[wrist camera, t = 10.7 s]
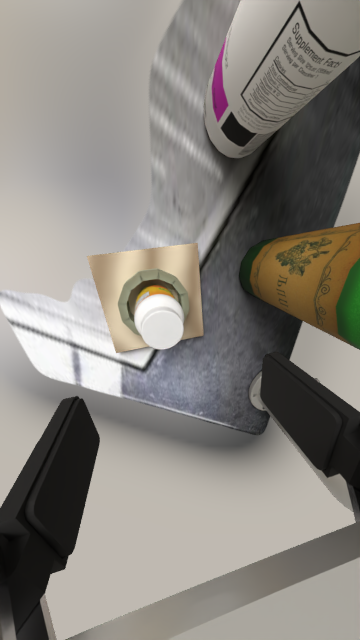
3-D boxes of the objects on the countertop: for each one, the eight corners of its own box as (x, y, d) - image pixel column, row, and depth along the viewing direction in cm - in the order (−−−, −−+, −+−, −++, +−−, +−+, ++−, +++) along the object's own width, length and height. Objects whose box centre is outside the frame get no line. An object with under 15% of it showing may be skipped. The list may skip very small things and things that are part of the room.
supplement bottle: (181, 300, 25) (202, 326, 17) (157, 326, 26) (165, 365, 17) (152, 275, 23) (160, 290, 14) (127, 304, 24) (120, 336, 15)
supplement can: (187, 103, 19) (306, -289, 5) (246, 42, 18) (569, -605, 4) (225, 177, 22) (361, 57, 8) (277, 128, 21) (517, -90, 8)
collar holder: (194, 243, 24) (203, 242, 21) (200, 331, 30) (208, 342, 26) (90, 255, 22) (80, 256, 19) (117, 348, 28) (113, 362, 24)
